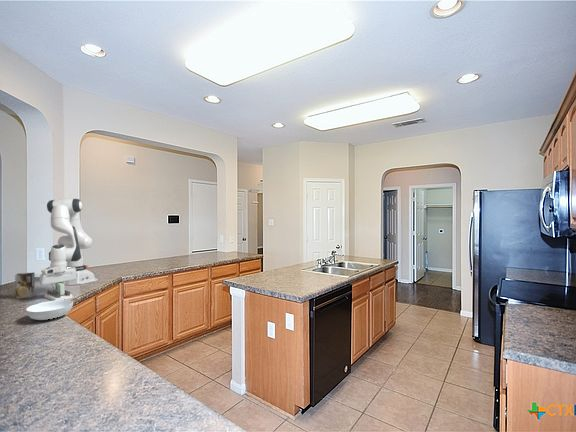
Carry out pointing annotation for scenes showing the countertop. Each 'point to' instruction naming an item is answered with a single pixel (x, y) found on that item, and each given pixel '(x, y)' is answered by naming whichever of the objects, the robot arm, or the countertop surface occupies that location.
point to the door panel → (60, 288)
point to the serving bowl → (49, 309)
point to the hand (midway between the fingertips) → (58, 288)
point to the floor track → (58, 295)
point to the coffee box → (24, 285)
